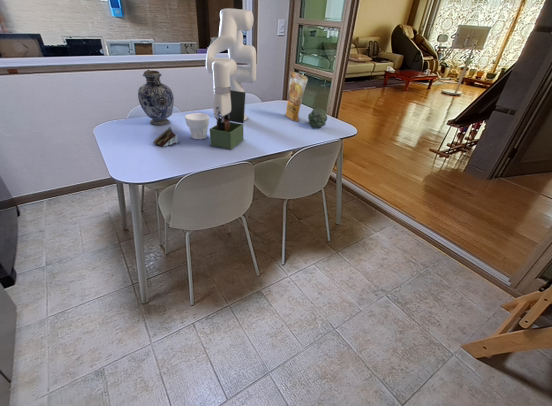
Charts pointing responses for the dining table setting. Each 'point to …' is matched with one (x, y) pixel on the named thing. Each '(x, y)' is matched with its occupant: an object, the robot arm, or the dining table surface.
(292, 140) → the dining table surface
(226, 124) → the block
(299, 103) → the pancake mix bag
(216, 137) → the bin
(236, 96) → the bin lid
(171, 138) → the chocolate cake
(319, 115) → the vegetable
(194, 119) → the cup
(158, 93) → the decorative vase
